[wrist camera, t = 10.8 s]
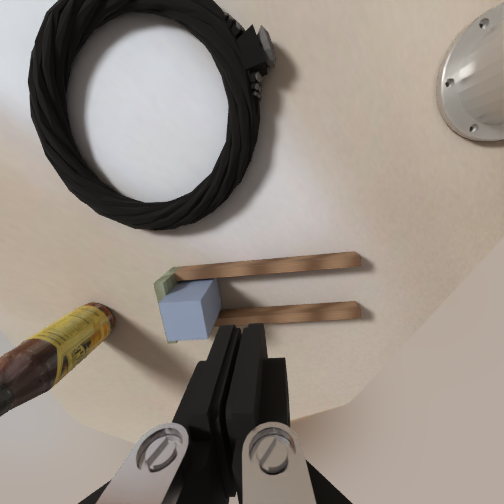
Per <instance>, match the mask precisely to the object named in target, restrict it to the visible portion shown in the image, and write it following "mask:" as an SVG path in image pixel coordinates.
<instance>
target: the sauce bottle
mask: <svg viewBox="0 0 504 504" xmlns="http://www.w3.org/2000/svg"><path fill="white" fill-rule="evenodd" d="M113 327H114V317H113V315H112V314H111V312H110V311H109V310H108V309H107V308H106V307H105V306H103V305H100V304H98V303H88V304H86V305H84V306H81V307H79V308H77V309H75V310H74V311H72V312H71V313H69V314H67V315H66V316H64V317H62V318H61V319H59V320H58V321H56V322H54V323H53V324H51V325H49V326H48V327H46V328H45V329H43V330H41V331H40V332H38V333H36V334H35V335H33V336H32V337H30V338H28V339H27V340H25V341H24V342H22V343H21V344H20V345H19V346H17V347H16V348H14V349H13V350H11V351H9V352H8V353H6V354H4V355H3V356H2V357H0V416H2V415H3V414H5V413H6V412H8V411H9V410H11V409H13V408H15V407H17V406H19V405H21V404H23V403H25V402H27V401H29V400H31V399H33V398H35V397H37V396H38V395H41V394H43V393H45V392H47V391H48V390H50V389H51V388H52V387H53V386H54V385H55V384H57V383H58V382H59V381H60V380H61V379H62V378H63V377H64V376H65V375H66V374H67V373H68V372H70V371H71V370H72V369H73V368H74V367H75V366H76V365H77V364H79V363H80V362H81V361H82V360H83V359H84V358H85V357H86V356H87V355H88V354H89V353H91V352H92V351H93V350H94V349H95V348H96V347H97V346H98V345H99V344H100V343H101V342H103V341H104V340H105V339H106V338H107V336H108V335H109V334H110V333H111V332H112V330H113Z"/></svg>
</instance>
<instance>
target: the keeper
mask: <svg viewBox="0 0 504 504" xmlns="http://www.w3.org/2000/svg"><path fill="white" fill-rule="evenodd" d="M159 307H160V312H161V316H162V320H163V324H164V328H165V333H166V337H167V341H179V340H199V339H208V337H209V335H210V333H211V330H212V328H213V326H214V324H215V321H216V319H217V317H218V314H219V312H220V310H221V308H222V304H221V298H220V292H219V286H218V280H217V278H208V279H195V280H183V281H179V283H178V284H177V285H176V286H175V287H174V288H173V289H172V290H171V291H170V292H169V293H168V294H167V295H166V296H165V297H164V298H163V299H162V300H161V301H160V302H159Z"/></svg>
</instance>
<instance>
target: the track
mask: <svg viewBox="0 0 504 504" xmlns="http://www.w3.org/2000/svg"><path fill="white" fill-rule="evenodd" d="M358 266H361V257H360V256H359V255H358V254H357V253H356V252H343V253H332V254H320V255H309V256H297V257H286V258H274V259H263V260H251V261H240V262H228V263H217V264H205V265H194V266H182V267H173V268H172V269H170V270H169V271H168V272H167V273H166V274H164V275H163V276H162V277H161V278H160V279H158V280H157V281H156V282H155V283H154V288H155V292H156V296H157V300H158V305H159V302H160V301H161V300H162V299H163V298H164V297H165V296H166V295H167V294H168V293H169V292H170V291H171V290H172V289H173V288H174V287H175V286H176V285H177V284H178V283H179V281H183V280H195V279H208V278H220V277H233V276H245V275H258V274H270V273H283V272H295V271H308V270H320V269H333V268H345V267H358ZM159 309H160V307H159ZM160 313H161V312H160ZM161 317H162V316H161ZM356 318H361V309H360V307H359V306H358V304H357V303H356V301H351V302H335V303H319V304H304V305H288V306H272V307H257V308H241V309H226V310H220V312H219V314H218V317H217V319H216V321H215V324H214V326H220V325H233V324H235V325H249V324H250V323H263V324H267V323H285V322H303V321H321V320H339V319H356ZM162 321H163V320H162ZM163 326H164V324H163ZM164 330H165V328H164ZM165 334H166V333H165ZM166 338H167V337H166ZM167 342H168V343H177V342H178V341H167Z"/></svg>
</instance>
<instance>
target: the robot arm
mask: <svg viewBox="0 0 504 504" xmlns="http://www.w3.org/2000/svg"><path fill="white" fill-rule="evenodd" d="M445 84H446V85H447V86H446V85H445ZM436 91H437V103H438V106H439V110H440V113H441V115H442V117H443V118H444V120H445V122H446V123H447V124H448V126H449V127H450V128H451V129H452V130H453V131H455V132H456V133H458V134H459V135H460V136H462V137H465V138H468V139H470V140H475V141H481V142H485V141H497V140H503V139H504V3H502V4H500V5H498V6H496V7H494V8H492V9H490V10H488V11H487V12H486V13H484V14H483V15H481V16H480V17H478V18H477V19H476V20H475V21H474V22H472V23H471V24H470V25H469V26H468V27H466V28H465V29H464V30H463V32H462V33H461V34H460V35H459V36H458V37H457V38H456V39H455V41H454V42H453V44H452V45H451V47H450V49H449V50H448V52H447V54H446V56H445V58H444V60H443V62H442V64H441V68H440V71H439V75H438V80H437V90H436ZM236 491H237V495H238V501H239V504H352V503H351V502H350V501H349V500H348V499H347V498H346V497H345V496H344V495H343V494H342V493H340V491H339V490H337V489H336V488H335V487H334V486H333V485H332V484H331V483H330V482H329V481H328V480H327V479H326V478H325V477H324V476H323V475H322V474H321V473H319V472H318V471H317V470H316V469H315V468H314V467H313V466H312V465H311V464H310V463H309V462H308V461H307V460H306V459H305V456H304V452H303V448H302V444H301V442H300V439H299V437H298V436H297V434H296V433H295V432H294V431H293V430H292V429H291V428H290V412H289V394H288V381H287V371H286V361H285V358H268V355H267V347H266V339H265V331H264V324H263V323H250V324H249V325H248V327H247V328H244V329H243V333H242V334H241V329H240V328H236V326H235V324H233V325H220V327H219V330H218V332H217V335H216V337H215V340H214V343H213V345H212V348H211V350H210V353H209V355H208V358H207V360H206V361H199V362H198V364H197V366H196V368H195V370H194V373H193V375H192V377H191V379H190V382H189V384H188V386H187V389H186V391H185V393H184V396H183V398H182V400H181V402H180V405H179V407H178V409H177V412H176V414H175V416H174V419H173V421H172V423H165V424H161V425H158V426H156V427H155V428H153V429H151V430H149V431H148V432H147V433H146V434H145V435H143V436H142V437H141V438H140V440H139V441H138V442H137V443H136V445H135V446H134V448H133V449H132V450H131V452H130V454H129V455H128V457H127V458H126V459H125V461H124V462H123V464H122V466H121V467H120V468H119V470H118V471H117V473H116V474H115V476H114V477H113V479H112V480H110V481H109V482H107V483H106V484H105V485H103V486H102V487H101V488H99V489H98V490H96V491H95V492H94V493H92V494H91V495H89V496H88V497H87V498H85V499H84V500H82V501H81V502H80V503H78V504H228V503H229V497H235V495H236Z"/></svg>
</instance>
